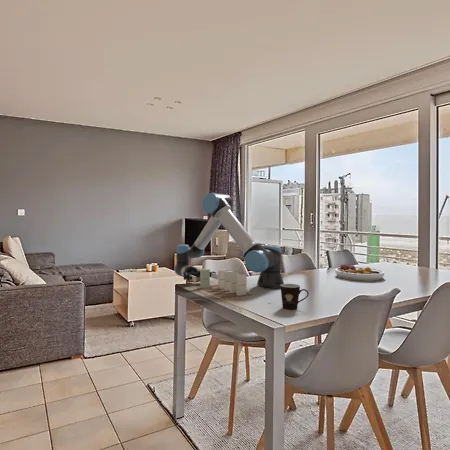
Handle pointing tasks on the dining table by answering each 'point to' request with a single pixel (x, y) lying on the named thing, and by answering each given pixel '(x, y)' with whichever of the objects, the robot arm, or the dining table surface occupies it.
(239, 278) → the domino
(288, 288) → the coffee mug
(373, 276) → the bowl
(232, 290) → the domino
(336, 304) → the dining table surface
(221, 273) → the domino
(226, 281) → the domino
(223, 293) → the board
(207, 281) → the domino
